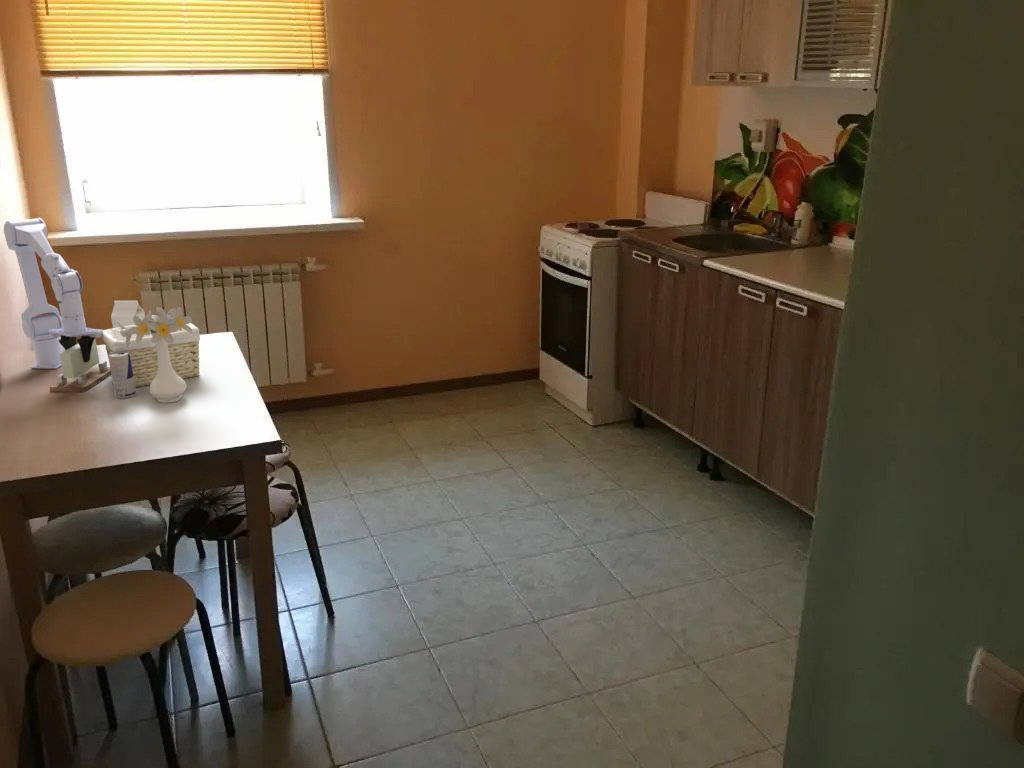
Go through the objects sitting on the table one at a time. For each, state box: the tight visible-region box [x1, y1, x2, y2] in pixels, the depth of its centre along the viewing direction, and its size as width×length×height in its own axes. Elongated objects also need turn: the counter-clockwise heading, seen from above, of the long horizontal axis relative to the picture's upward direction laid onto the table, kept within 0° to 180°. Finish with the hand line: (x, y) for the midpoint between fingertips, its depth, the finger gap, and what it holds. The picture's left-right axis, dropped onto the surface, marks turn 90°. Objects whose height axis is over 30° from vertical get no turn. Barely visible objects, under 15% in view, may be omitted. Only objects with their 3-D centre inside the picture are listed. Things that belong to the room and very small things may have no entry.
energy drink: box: [108, 351, 137, 400], centre depth 233 cm, size 5×5×12 cm
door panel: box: [59, 339, 101, 378], centre depth 245 cm, size 14×3×7 cm, turn 177°
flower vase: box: [117, 306, 193, 404], centre depth 228 cm, size 13×18×25 cm
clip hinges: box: [56, 360, 108, 385], centre depth 247 cm, size 14×7×2 cm, turn 177°
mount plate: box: [49, 366, 111, 392], centre depth 247 cm, size 18×10×1 cm, turn 177°
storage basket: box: [101, 322, 201, 388], centre depth 248 cm, size 24×16×15 cm
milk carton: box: [110, 300, 146, 328], centre depth 262 cm, size 7×7×19 cm
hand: (81, 361), depth 246 cm, fingers closed on door panel, 3 cm apart
